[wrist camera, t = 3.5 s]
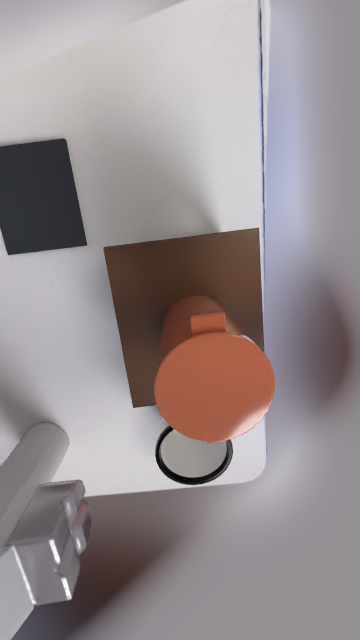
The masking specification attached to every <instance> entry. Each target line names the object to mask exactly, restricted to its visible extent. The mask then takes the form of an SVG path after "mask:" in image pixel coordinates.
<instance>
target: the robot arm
mask: <svg viewBox="0 0 360 640" xmlns="http://www.w3.org/2000/svg"><path fill="white" fill-rule="evenodd" d="M84 493H85V488H84V485H83V482H82V481H81V480H71V481H60V482H50V483H43V484H35V485H25V486H23V487H22V488H21V489H19V491H18V492H17V494H16V495H15V497H14V498H13V500H12V501H11V503H10V505H9V506H8V508H7V509H6V511H5V512H4V514H3V515H2V517H1V519H0V640H11V638H12V637H13V636H14V634H15V633H16V632H17V630H18V629H19V628H20V626H21V625H22V623H23V622H24V621H25V620H26V618H27V617H28V615H29V614H30V613H31V612H32V610H33V609H34V607H33V606H35V605H40V604H47V603H53V602H59V601H66V600H71V598H72V595H73V591H74V588H75V585H76V581H77V578H78V574H79V570H80V567H81V565H80V562H79V558H78V556H79V555H80V553H81V552H82V551H83V550H84V549H85V547H86V546H87V542H88V539H89V535H90V527H91V513H90V507H89V504H88V503H87V502H86V501H84V500H83V496H84Z"/></svg>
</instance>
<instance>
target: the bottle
mask: <svg viewBox="0 0 360 640" xmlns="http://www.w3.org/2000/svg"><path fill="white" fill-rule="evenodd" d="M68 447H69V438H68V436H67V434H66V433H65V431H64V430H63V429H62V428H60V427H59V426H57V425H54V424H51V423H40V424H37V425H34V426H33V427H32V428H30V429H29V431H28V432H27V433H26V434H25V436H24V437H23V438H22V439H21V441H20V442H19V443H18V444H17V446H16V447H15V448H14V450H13V451H12V452H11V454H10V455H9V456H8V457H7V459H6V460H5V461H4V463H3V464H2V465H1V467H0V519H1V517H2V515H3V514H4V512H5V511H6V509H7V508H8V506H9V505H10V503H11V501H12V500H13V498H14V497H15V495H16V494H17V492H18V491H19V489H21V488H22V487H23V486H25V485H35V484H43V483H50V482H51V480H52V478H53V476H54V475H55V473H56V471H57V469H58V467H59V465H60V463H61V461H62V459H63V457H64V455H65V453H66V451H67V450H68Z"/></svg>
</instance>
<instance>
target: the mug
mask: <svg viewBox="0 0 360 640" xmlns="http://www.w3.org/2000/svg"><path fill="white" fill-rule="evenodd" d="M232 454H233V448H232V442H231V439H229V440H227V441H226V442H218V443H210V444H207V442H205V441H199V440H195V439H191V438H189V437H186V436H184V435H182V434H180V433H179V432H177V431H176V430H175V429H173V428H172V427H171V426H170V425H169V424H168V423H167V422H166V421H165V419H164V418H163V417H162V422H161V434H160V436H159V438H158V440H157V443H156V449H155V456H156V461H157V464H158V466H159V468H160V469H161V471H162V472H163V473H164V474H165V475H166V476H167V477H168V478H170V479H172V480H173V481H176V482H178V483H181V484H187V485H198V484H204V483H207V482H210V481H212V480H214V479H216V478H217V477H219V476H220V475H221V474H222V473H223V472H224V471H225V470H226V469H227V467H228V466H229V464H230V462H231V459H232Z"/></svg>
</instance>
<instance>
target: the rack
mask: <svg viewBox="0 0 360 640" xmlns="http://www.w3.org/2000/svg"><path fill="white" fill-rule="evenodd" d="M104 254H105V259H106V265H107V270H108V275H109V281H110V286H111V291H112V297H113V302H114V308H115V313H116V318H117V324H118V329H119V334H120V340H121V345H122V350H123V356H124V361H125V367H126V372H127V377H128V383H129V388H130V393H131V399H132V404H133V408H136V407H144V406H152V405H157V404H156V400H155V393H154V386H155V376H156V368H157V360H158V351H159V343H160V335H161V327H162V321H163V319H164V316H165V314H166V312H167V311H168V310H169V308H170V307H171V306H172V305H173V304H175V303H176V302H177V301H179V300H181V299H183V298H186V297H190V296H204V297H208V298H211V299H213V300H215V301H216V302H218V303H219V304H220V305H221V306H222V307H223V308H224V309H225V310H226V311H227V312H228V313H229V314H230V315H231V317H232V318H233V319H234V320H235V321H236V322H237V323H238V324H239V326H240V327H241V328H242V329H243V330H244V331H245V332H246V333H247V334H248V336H249V337H250V338H251V339H252V340H253V341H254V342H255V343H256V344H257V346H258V347H259V348H260V349H261V350H262V351H263V352H264V334H263V311H262V289H261V266H260V243H259V228H253V229H245V230H237V231H229V232H221V233H213V234H205V235H197V236H189V237H181V238H173V239H165V240H157V241H149V242H141V243H133V244H125V245H117V246H109V247H104Z"/></svg>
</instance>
